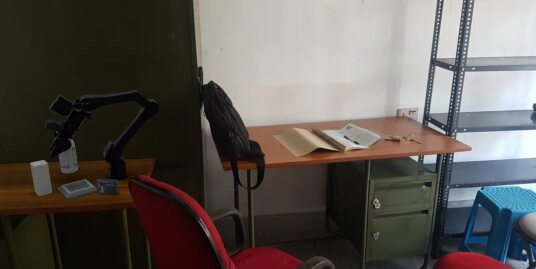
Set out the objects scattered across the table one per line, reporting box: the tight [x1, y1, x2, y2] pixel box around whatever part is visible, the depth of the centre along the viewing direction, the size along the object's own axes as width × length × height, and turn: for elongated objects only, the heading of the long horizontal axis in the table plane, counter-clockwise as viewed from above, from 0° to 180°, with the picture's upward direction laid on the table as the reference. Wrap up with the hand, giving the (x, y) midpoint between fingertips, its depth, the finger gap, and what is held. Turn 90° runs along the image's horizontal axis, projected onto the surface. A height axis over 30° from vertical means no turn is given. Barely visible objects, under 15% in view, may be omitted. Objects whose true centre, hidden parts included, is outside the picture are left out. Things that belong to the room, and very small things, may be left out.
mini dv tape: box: [96, 178, 120, 196], centre depth 170 cm, size 8×2×6 cm, turn 80°
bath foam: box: [58, 139, 79, 175], centre depth 189 cm, size 7×7×20 cm
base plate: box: [57, 178, 98, 201], centre depth 173 cm, size 12×12×2 cm
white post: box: [29, 159, 53, 197], centre depth 169 cm, size 5×5×12 cm
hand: (50, 154), depth 172 cm, fingers open, 9 cm apart
